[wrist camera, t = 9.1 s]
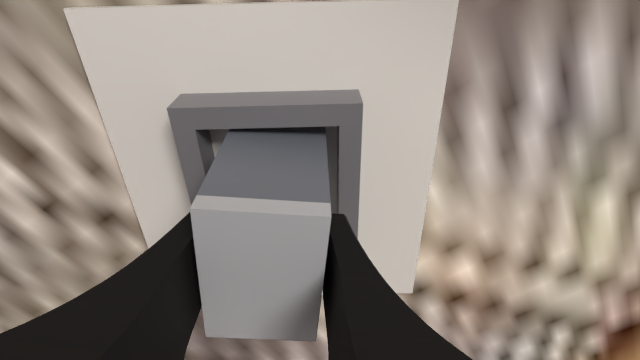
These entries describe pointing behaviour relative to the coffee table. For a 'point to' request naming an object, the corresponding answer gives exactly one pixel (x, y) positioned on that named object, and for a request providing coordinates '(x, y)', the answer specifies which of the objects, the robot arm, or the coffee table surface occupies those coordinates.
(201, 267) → the block
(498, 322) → the coffee table surface
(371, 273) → the robot arm
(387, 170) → the plate
